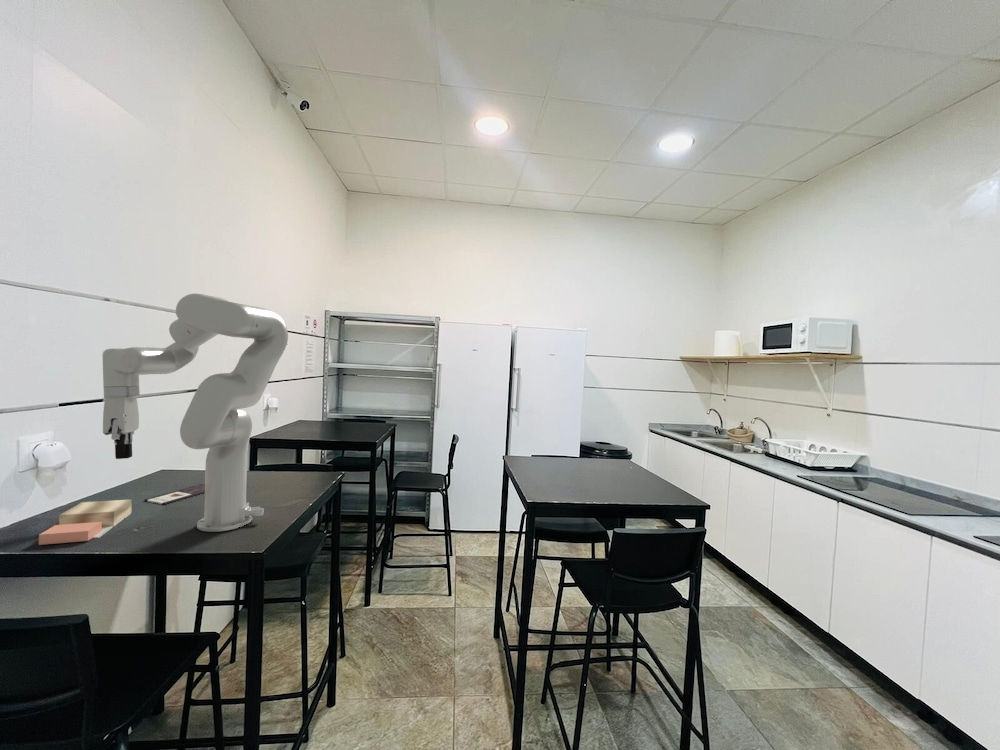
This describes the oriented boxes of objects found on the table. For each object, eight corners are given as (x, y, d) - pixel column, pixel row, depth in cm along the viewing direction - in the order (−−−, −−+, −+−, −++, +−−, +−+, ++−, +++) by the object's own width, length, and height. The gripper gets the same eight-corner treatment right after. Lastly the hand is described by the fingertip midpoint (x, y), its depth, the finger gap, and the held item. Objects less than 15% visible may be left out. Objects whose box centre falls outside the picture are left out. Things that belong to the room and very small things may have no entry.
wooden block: (131, 513, 120) (131, 499, 120) (113, 526, 111) (114, 511, 111) (81, 516, 117) (81, 502, 116) (59, 530, 107) (59, 515, 107)
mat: (112, 527, 111) (112, 526, 111) (98, 538, 104) (98, 536, 104) (57, 531, 107) (57, 530, 107) (39, 543, 100) (39, 541, 100)
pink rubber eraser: (88, 530, 102) (88, 540, 102) (101, 521, 107) (101, 531, 107) (38, 534, 99) (38, 544, 99) (55, 525, 104) (55, 534, 104)
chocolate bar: (220, 487, 145) (165, 503, 128) (220, 490, 145) (165, 506, 128) (200, 484, 148) (144, 499, 131) (200, 486, 148) (144, 502, 131)
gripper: (117, 391, 125) (119, 454, 125) (90, 394, 111) (92, 465, 111) (149, 391, 127) (151, 452, 128) (126, 393, 114) (128, 462, 114)
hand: (123, 457), depth 119 cm, fingers closed
